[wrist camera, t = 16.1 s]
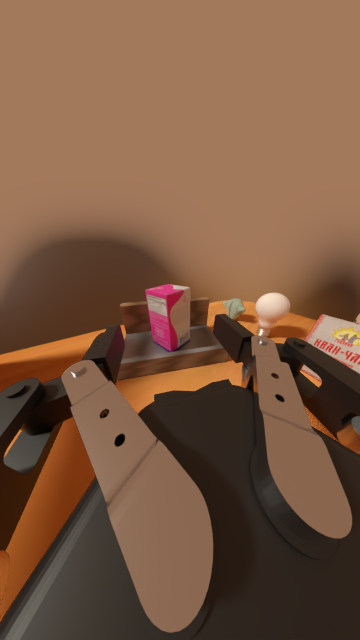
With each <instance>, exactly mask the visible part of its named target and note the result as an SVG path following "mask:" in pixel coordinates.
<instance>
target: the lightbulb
mask: <svg viewBox="0 0 360 640" xmlns="http://www.w3.org/2000/svg"><path fill="white" fill-rule="evenodd" d="M255 310H256V313H257V315H258V318H259V320H258V323H259V326H258V329H257V334H258V335H261V336H265V337H267V336H269V333H270V330H271V328H272V327H273V326H274V325H275V323H276V322H277V321H279V320H281V319H282V318H284V317H285V316H286V315H287V314H288V312H289V310H290V302H289V300H288V298H286V296H284V295H282V294H280V293H268V294H265V295H263V296H262V297H260V298H259V300H258V301H257V303H256V306H255Z"/></svg>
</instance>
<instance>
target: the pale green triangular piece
mask: <svg viewBox="0 0 360 640" xmlns="http://www.w3.org/2000/svg"><path fill="white" fill-rule="evenodd" d="M223 304H224V305H225V307H226V309H227V314H228V317H230V318H231V319H236V318H238V317H239V315H241V314H242V313H243V312H245V310H246V308H245V307H244V306H243V303H242V301H241V300H240V299H237V298H235V299H232V300H229V301H225V302H223Z"/></svg>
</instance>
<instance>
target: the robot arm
mask: <svg viewBox="0 0 360 640" xmlns="http://www.w3.org/2000/svg"><path fill="white" fill-rule="evenodd" d="M213 333H214V336H215V337H216V339H217V340H218V341H219V342H220V344H221V345H222V346H223V348H224V349H225V350H226V351H227V353H228V354H229V355H230V356H231V358H232V359H233V360H234V362H235V363H239V362H243V366H242V385H241V387H240V386H235V385H232V384H231V383H230V381H229V379H227V380H222V381H217V382H212V383H210V384H208V385H206V386H204V387H202V388H201V389H199V390H197V391H169V392H165V393H160V394H155V395H154V402H153V403H151V404H149V405H148V406H146V407H145V408H144V409H142V410H141V411H140V412H139V413H138V414H137V413H136V412H135V411H134V409H133V408H132V407H131V405H130V404H129V403H128V402H127V400H126V399H125V398H124V397H123V395H122V394H121V393H120V391H119V390H118V389H117V388H116V386H115V385H116V381H117V377H118V373H119V369H120V365H121V361H122V357H123V353H124V349H125V343H124V338H123V334H122V331H121V327H120V325H111V326H108V327H107V329H106V331H105V333H101V334H99V335H98V336H97V337H96V338H95V339H94V341H93V343H92V344H91V346H90V348H89V349H88V351H87V352H86V354H85V356H84V357H83V359H82V360H81V361H80V362H77V363H75V364H73V365H71V366H70V367H69V368H67V369H66V370H65V371H64V373H63V374H62V377H59V378H56V379H54V380H51V381H48V382H45V383H43V384H42V383H41V382H40V381H39V380H38V379H37V378H29V379H25V380H22V381H19V382H17V383H15V384H13V385H11V386H9V387H8V388H6V389H5V390H3V391H2V392H1V393H0V605H1V603H2V600H3V598H4V595H5V591H6V582H7V579H8V575H9V570H10V557H9V554H8V553H7V552H6V549H7V546H8V544H9V542H10V540H11V537H12V535H13V533H14V531H15V529H16V526H17V524H18V522H19V520H20V517H21V515H22V513H23V511H24V508H25V506H26V504H27V502H28V499H29V497H30V495H31V493H32V490H33V488H34V486H35V484H36V482H37V479H38V477H39V475H40V473H41V470H42V468H43V466H44V464H45V461H46V459H47V457H48V455H49V452H50V450H51V448H52V446H53V443H54V441H55V439H56V437H57V434H58V432H59V430H60V428H61V426H62V423H63V421H65V420H67V419H69V418H71V417H74V419H75V422H76V425H77V427H78V430H79V432H80V435H81V438H82V440H83V443H84V445H85V448H86V451H87V453H88V456H89V458H90V461H91V464H92V466H93V469H94V472H95V474H96V476H95V478H94V479H93V481H92V482H91V484H90V485H89V487H88V489H87V490H86V492H85V493H84V495H83V496H82V498H81V499H80V501H79V502H78V504H77V505H76V507H75V508H74V510H73V511H72V513H71V514H70V516H69V517H68V519H67V521H66V522H65V524H64V525H63V527H62V528H61V530H60V531H59V533H58V534H57V536H56V537H55V539H54V540H53V542H52V543H51V545H50V546H49V548H48V549H47V551H46V553H45V554H44V556H43V557H42V559H41V560H40V562H39V563H38V565H37V566H36V568H35V569H34V571H33V572H32V574H31V575H30V577H29V578H28V580H27V581H26V583H25V585H24V586H23V588H22V589H21V591H20V592H19V594H18V595H17V597H16V598H15V600H14V601H13V603H12V604H11V606H10V607H9V609H8V610H7V612H6V614H5V615H4V617H3V618H2V620H1V622H0V640H360V374H359V373H358V372H356V371H354V370H353V369H351V368H349V367H348V366H346V365H344V364H343V363H341V362H339V361H338V360H336V359H334V358H333V357H331V356H330V355H328V354H326V353H325V352H323V351H321V350H320V349H318V348H316V347H315V346H313V345H311V344H310V343H308V342H306V341H304V340H301V339H298V338H287V339H286V341H285V343H284V344H280V343H275V342H274V341H273V340H271V339H270V338H268V337H265V336H261V335H254V334H252V333H251V332H250V331H249V330H247V329H246V328H245V327H243V326H242V325H240V323H238V322H237V321H235V320H233V319H231V318H230V317H228V316H227V315H226V314H218V315H216V316H215V321H214V328H213ZM304 365H305V366H307V367H308V368H309V369H311V370H312V371H313V372H314V373H316V374H317V375H318V376H319V377H320V378H321V380H322V384H321V386H320V387H319V388H318V387H317V386H316V385H315V384H313V383H312V382H311V381H310V380H309V379H308V378H306V377H305V376H304V375H303V374H302V373H300V370H301V369H302V367H303V366H304ZM303 404H304V405H305V406H306V407H307V408H308V410H309V411H310V412H311V413H312V414H313V415H314V416H315V417H316V418H317V419H318V420H319V421H320V422H321V423H322V424H323V425H324V426H325V427H326V428H327V429H328V430H329V431H330V433H331V434H332V435H333V436H334V437H335V438H336V439H337V440H338V441H339V442H340V443H339V442H337V441H336V440H334V439H332V438H331V437H329V436H327V435H325V434H324V433H322V432H320V431H319V430H317V429H315V428H314V427H312V426H311V424H310V422H309V419H308V416H307V413H306V411H305V408H304V405H303ZM20 429H21V430H22V432H21V433H20V435H19V436H18V438H17V439H16V441H15V442H14V444H13V445H12V447H11V448H10V450H9V451H8V453H7V455H6V456H5V458H4V454H5V452H6V450H7V448H8V446H9V445H10V443H11V442H12V440H13V439H14V437H15V436H16V434H17V433H18V431H19V430H20Z"/></svg>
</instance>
